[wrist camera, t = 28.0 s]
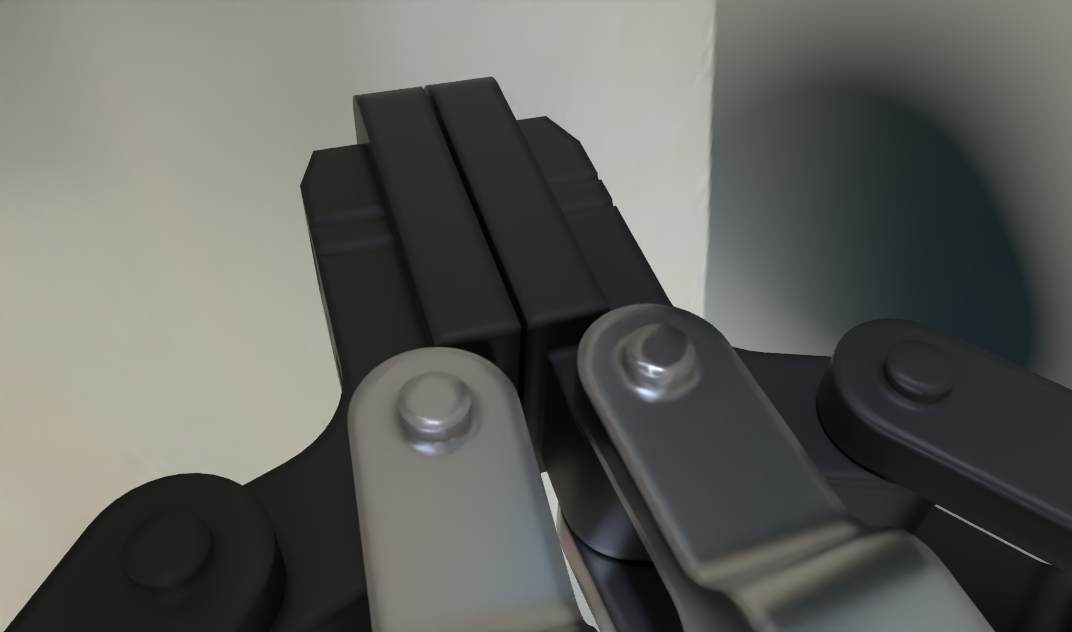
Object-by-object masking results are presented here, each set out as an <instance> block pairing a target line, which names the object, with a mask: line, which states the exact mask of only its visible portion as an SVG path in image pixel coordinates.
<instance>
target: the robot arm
mask: <svg viewBox="0 0 1072 632" xmlns="http://www.w3.org/2000/svg"><path fill="white" fill-rule="evenodd" d="M353 109H354V119H355V127H356V136H357V145H350V146H343V147H337V148H330V149H323V150H317V151H313V154H312V156H311V159H310V161H309V164H308V167H307V169H306V172H305V174H304V177H303V180H302V182H301V185H300V188H301V193H302V199H303V204H304V209H305V215H306V220H307V226H308V231H309V236H310V242H311V247H312V253H313V258H314V264H315V269H316V274H317V280H318V285H319V290H320V295H321V299H322V304H323V308H324V313H325V318H326V322H327V326H328V331H329V336H330V340H331V345H332V349H333V354H334V358H335V363H336V367H337V372H338V377H339V381H340V386H341V390H342V394H341V398H340V402H339V405H338V408H337V410H336V412H335V414H334V416H333V418H332V420H331V421H330V423H329V424H328V426H327V427H326V429H325V430H324V431H323V433H322V434H321V435H320V436H319V437H318V438H317V439H316V440H315V441H314V442H313V443H312V444H311V445H310V446H308V447H307V448H306V449H305V450H304V451H302V452H301V453H300V454H298V455H297V456H295V457H293V458H292V459H290V460H289V461H287V462H285V463H284V464H282V465H280V466H278V467H276V468H274V469H273V470H271V471H269V472H267V473H265V474H263V475H262V476H260V477H258V478H256V479H254V480H252V481H251V482H249V483H247V484H245V485H243V486H242V485H240V484H238V483H236V482H234V481H232V480H230V479H227V478H224V477H220V476H216V475H211V474H202V473H189V474H178V475H172V476H167V477H163V478H160V479H157V480H153V481H150V482H147V483H145V484H143V485H141V486H139V487H137V488H135V489H132V490H131V491H129V492H127V493H126V494H124V495H123V496H121V497H120V498H118V499H116V500H115V501H114V502H113V503H111V504H110V505H109V506H108V507H107V508H105V509H104V510H103V511H102V512H101V513H100V514H99V515H98V516H97V517H96V518H95V519H94V520H93V522H92V523H91V524H90V525H89V526H88V527H87V528H86V530H85V531H84V532H83V533H82V535H81V536H80V537H79V538H78V540H77V541H76V542H75V543H74V545H73V546H72V547H71V548H70V550H69V551H68V552H67V553H66V555H65V556H64V557H63V558H62V560H61V561H60V562H59V563H58V565H57V566H56V567H55V568H54V570H53V571H52V572H51V573H50V575H49V576H48V577H47V578H46V580H45V581H44V582H43V583H42V585H41V586H40V587H39V588H38V590H37V591H36V592H35V593H34V595H33V596H32V597H31V598H30V600H29V601H28V602H27V603H26V605H25V606H24V607H23V608H22V610H21V611H20V612H19V613H18V615H17V616H16V617H15V618H14V620H13V621H12V622H11V623H10V625H9V626H8V627H7V628H6V630H5V631H4V632H598V631H597V630H596V629H595V628H594V627H593V626H590V625H588V624H587V623H586V622H585V621H584V620H583V617H582V615H581V613H580V610H579V608H578V605H577V602H576V599H575V595H574V592H573V588H572V585H571V581H570V578H569V574H568V570H567V567H566V563H565V560H564V556H563V553H562V549H563V552H564V554H565V556H566V558H567V560H568V562H569V565H570V567H571V569H572V571H573V573H574V575H575V577H576V580H577V582H578V584H579V586H580V589H581V591H582V593H583V595H584V597H585V599H586V602H587V604H588V606H589V608H590V610H591V612H592V615H593V617H594V619H595V621H596V623H597V625H598V628H599V630H600V632H1072V390H1071V389H1069V388H1066V387H1064V386H1062V385H1060V384H1058V383H1055V382H1053V381H1051V380H1049V379H1047V378H1044V377H1042V376H1040V375H1038V374H1036V373H1033V372H1031V371H1029V370H1027V369H1024V368H1022V367H1020V366H1018V365H1016V364H1014V363H1011V362H1009V361H1007V360H1005V359H1003V358H1000V357H998V356H996V355H994V354H992V353H990V352H987V351H985V350H983V349H981V348H978V347H976V346H974V345H972V344H970V343H967V342H965V341H963V340H961V339H959V338H956V337H954V336H952V335H950V334H948V333H946V332H944V331H941V330H939V329H936V328H934V327H931V326H929V325H926V324H922V323H919V322H915V321H910V320H903V319H878V320H872V321H869V322H865V323H862V324H860V325H858V326H856V327H854V328H852V329H851V330H850V331H848V332H847V333H846V334H845V335H844V336H843V337H842V338H841V340H840V341H839V342H838V345H837V347H836V349H835V351H834V353H833V356H832V357H829V356H811V355H796V354H780V353H764V352H756V351H748V350H744V349H739V348H736V347H732V346H731V345H730V343H729V342H728V341H727V339H725V337H724V336H723V335H722V333H721V332H719V331H718V330H717V329H716V328H715V327H714V326H713V325H711V324H710V323H709V322H707V321H705V320H704V319H702V318H701V317H699V316H697V315H695V314H693V313H691V312H689V311H686V310H683V309H680V308H677V307H674V306H673V305H672V303H671V302H670V301H669V299H668V297H667V295H666V293H665V292H664V290H663V288H662V286H661V285H660V283H659V281H658V279H657V277H656V276H655V274H654V272H653V270H652V269H651V267H650V265H649V263H648V262H647V260H646V258H645V256H644V254H643V253H642V251H641V249H640V247H639V246H638V244H637V242H636V240H635V239H634V237H633V235H632V233H631V231H630V230H629V228H628V226H627V224H626V223H625V221H624V219H623V217H622V216H621V214H620V212H619V210H618V208H617V207H616V206H613V203H612V198H611V196H610V194H609V193H608V191H607V189H606V187H605V185H604V184H603V182H602V180H598V173H597V171H596V170H595V168H594V166H593V164H592V162H591V161H590V159H589V157H588V155H587V154H586V152H585V150H584V148H583V146H582V145H581V143H580V141H578V140H577V139H576V138H574V137H573V136H572V135H570V134H569V133H568V132H566V131H565V130H564V129H562V128H561V127H560V126H558V125H557V124H556V123H554V122H553V121H552V120H550V119H549V118H548V117H546V116H543V117H536V118H529V119H523V120H516V119H515V117H514V115H513V113H512V111H511V109H510V107H509V105H508V103H507V101H506V99H505V97H504V95H503V93H502V91H501V89H500V87H499V85H498V83H497V81H496V80H495V79H494V78H493V77H485V78H478V79H471V80H463V81H456V82H448V83H441V84H434V85H427V86H425V88H424V89H423V87H414V88H406V89H399V90H392V91H384V92H377V93H370V94H362V95H355V96H353ZM546 471H547V473H548V475H549V478H550V481H551V483H552V486H553V489H554V491H555V494H556V496H557V499H558V502H559V503H558V511H557V522H556V528H557V531H556V528H555V524H554V521H553V517H552V513H551V510H550V506H549V503H548V499H547V496H546V492H545V488H544V485H543V481H542V478H541V474H540V473H542V472H546ZM936 504H937V505H939V506H941V507H943V508H945V509H946V510H948V511H950V512H952V513H954V514H956V515H958V516H960V517H962V518H964V519H966V520H967V521H969V522H971V523H973V524H975V525H977V526H979V527H981V528H983V529H984V530H986V531H989V532H990V533H992V534H994V535H996V536H998V537H1000V538H1002V539H1003V540H1005V541H1007V542H1009V543H1011V544H1013V545H1015V546H1017V547H1019V548H1021V549H1023V550H1024V551H1026V552H1028V553H1030V554H1032V555H1034V556H1036V557H1038V558H1040V559H1042V560H1044V561H1045V562H1047V563H1049V564H1051V565H1049V564H1046V563H1043V562H1040V561H1038V560H1035V559H1034V558H1032V557H1030V556H1028V555H1026V554H1024V553H1022V552H1020V551H1019V550H1017V549H1015V548H1013V547H1011V546H1009V545H1007V544H1005V543H1003V542H1001V541H1000V540H998V539H996V538H994V537H992V536H990V535H988V534H986V533H984V532H983V531H981V530H979V529H977V528H975V527H973V526H971V525H969V524H967V523H965V522H964V521H962V520H960V519H958V518H956V517H954V516H952V515H950V514H948V513H946V512H944V511H943V510H941V509H939V508H937V507H935V505H936ZM560 544H561V546H560ZM561 547H562V549H561Z"/></svg>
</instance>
